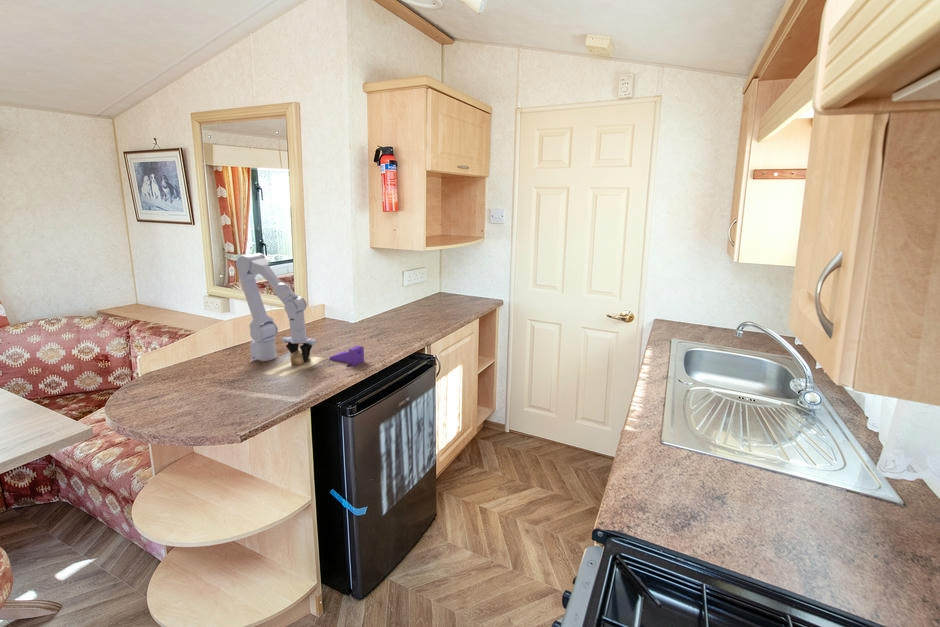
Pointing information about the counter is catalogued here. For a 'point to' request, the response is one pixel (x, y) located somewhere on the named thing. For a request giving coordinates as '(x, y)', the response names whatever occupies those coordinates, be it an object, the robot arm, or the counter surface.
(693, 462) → the counter surface
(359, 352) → the bracket
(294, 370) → the board
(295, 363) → the block
